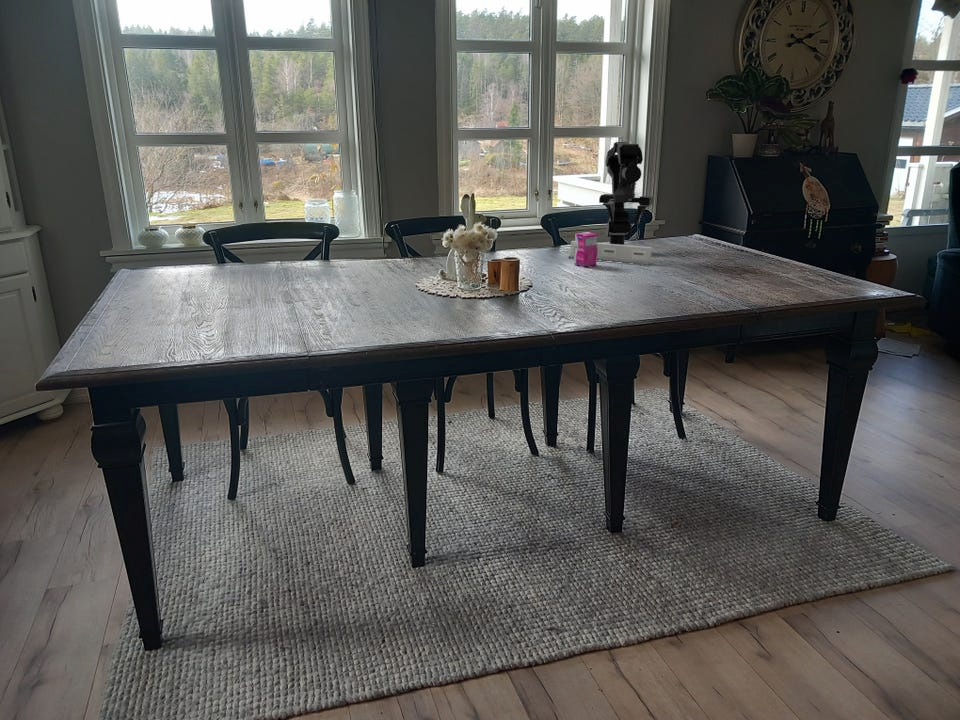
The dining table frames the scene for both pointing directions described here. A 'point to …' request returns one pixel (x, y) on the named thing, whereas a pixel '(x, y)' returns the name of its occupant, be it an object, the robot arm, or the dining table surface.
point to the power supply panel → (620, 253)
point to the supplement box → (585, 249)
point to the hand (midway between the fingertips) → (624, 223)
